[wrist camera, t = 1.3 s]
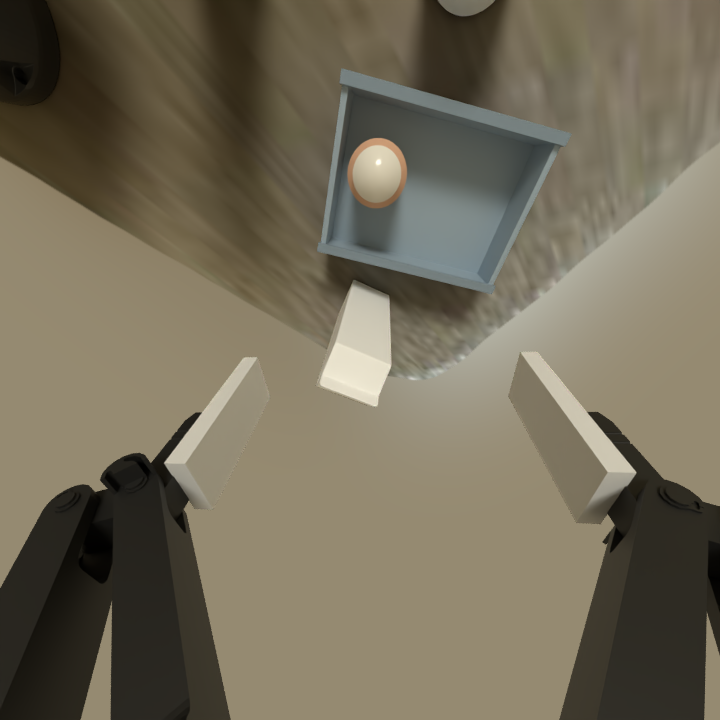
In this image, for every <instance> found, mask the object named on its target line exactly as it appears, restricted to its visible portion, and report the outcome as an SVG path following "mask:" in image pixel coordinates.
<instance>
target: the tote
mask: <svg viewBox="0 0 720 720" xmlns="http://www.w3.org/2000/svg"><path fill="white" fill-rule="evenodd" d="M340 85H342V91H341V99H340V106H339V113H338V121H337V128H336V135H335V142H334V150H333V157H332V164H331V172H330V179H329V186H328V194H327V201H326V208H325V216H324V223H323V230H322V238H321V242H319V243H318V250H317V251H318V252H322V253H326V254H330V255H334V256H338V257H342V258H346V259H350V260H354V261H359V262H363V263H367V264H371V265H375V266H379V267H383V268H387V269H391V270H395V271H399V272H403V273H407V274H412V275H416V276H420V277H424V278H428V279H432V280H436V281H440V282H444V283H448V284H452V285H456V286H460V287H464V288H469V289H473V290H477V291H481V292H485V293H489V294H492V293H493V291H494V289H495V286H494V285H493V284H494V281H495V279H496V277H497V275H498V273H499V271H500V269H501V267H502V265H503V263H504V261H505V259H506V257H507V255H508V253H509V251H510V249H511V247H512V245H513V243H514V241H515V239H516V237H517V235H518V233H519V231H520V228H521V226H522V224H523V222H524V220H525V218H526V216H527V214H528V212H529V210H530V208H531V206H532V204H533V202H534V200H535V198H536V196H537V194H538V192H539V190H540V188H541V186H542V184H543V182H544V180H545V178H546V175H547V173H548V171H549V169H550V167H551V165H552V163H553V161H554V159H555V157H556V155H557V153H558V151H559V149H560V147H564V146H566V144H567V142H568V140H569V138H570V136H571V133H568V132H564V131H561V130H557V129H554V128H550V127H547V126H543V125H540V124H536V123H532V122H529V121H525V120H522V119H518V118H515V117H511V116H508V115H504V114H501V113H497V112H494V111H490V110H487V109H483V108H480V107H476V106H473V105H469V104H466V103H462V102H459V101H455V100H452V99H448V98H444V97H441V96H437V95H434V94H430V93H427V92H423V91H420V90H416V89H413V88H409V87H406V86H402V85H399V84H395V83H392V82H388V81H385V80H381V79H378V78H374V77H371V76H367V75H364V74H360V73H356V72H353V71H349V70H346V69H341V76H340ZM373 138H383V139H387V140H389V141H391V142H393V143H394V144H395V145H396V146H397V147H398V148H399V149H400V150H401V152H402V154H403V156H404V158H405V161H406V166H407V179H406V183H405V186H404V189H403V191H402V193H401V194H400V196H399V197H398V198H397V199H396V200H395V201H394V202H393V203H392V204H390V205H388V206H386V207H383V208H369V207H367V206H365V205H363V204H361V203H360V202H359V201H358V200H357V199H356V198H355V197H354V195H353V194H352V192H351V190H350V187H349V183H348V175H347V172H348V165H349V162H350V159H351V157H352V154H353V153H354V151H355V150H356V149H357V148H358V147H359V146H360V145H361V144H362V143H363V142H365V141H367V140H369V139H373Z"/></svg>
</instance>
